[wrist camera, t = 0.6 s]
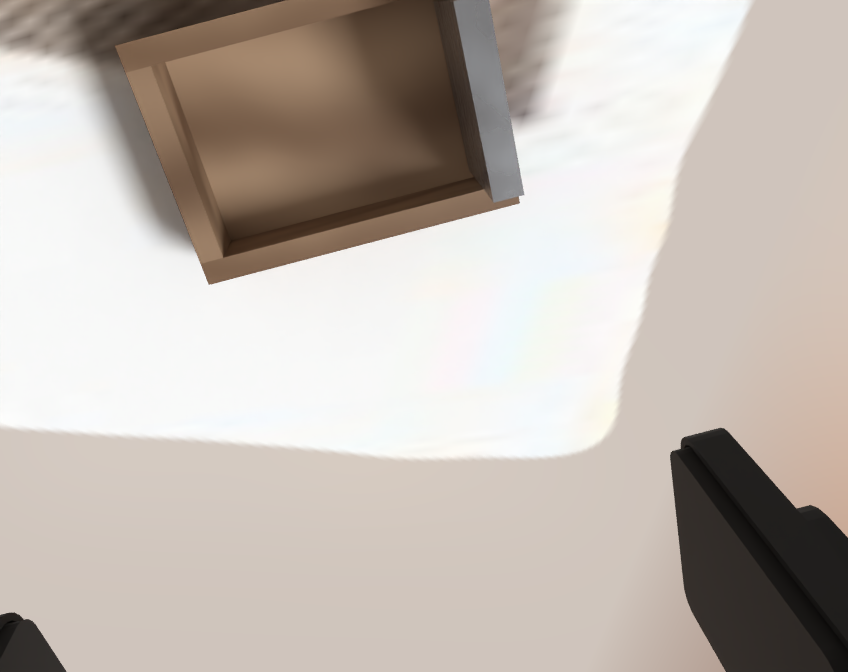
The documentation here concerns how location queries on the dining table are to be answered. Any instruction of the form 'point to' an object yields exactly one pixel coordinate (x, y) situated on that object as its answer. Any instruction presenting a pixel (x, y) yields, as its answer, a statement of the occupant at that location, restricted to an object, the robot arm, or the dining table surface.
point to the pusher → (480, 95)
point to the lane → (304, 129)
